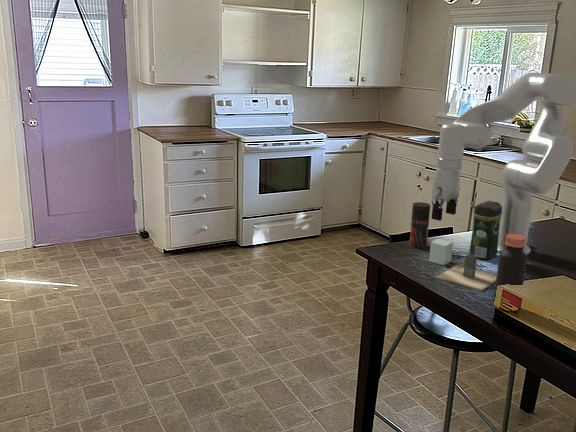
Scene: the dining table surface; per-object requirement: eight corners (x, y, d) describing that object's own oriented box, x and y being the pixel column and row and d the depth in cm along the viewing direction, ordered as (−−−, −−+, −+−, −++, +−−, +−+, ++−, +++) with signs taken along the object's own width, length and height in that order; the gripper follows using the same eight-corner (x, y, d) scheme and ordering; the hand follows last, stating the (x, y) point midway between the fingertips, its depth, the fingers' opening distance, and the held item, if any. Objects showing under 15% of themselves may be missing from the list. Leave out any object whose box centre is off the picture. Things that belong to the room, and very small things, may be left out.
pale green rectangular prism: (436, 257, 186) (438, 238, 184) (451, 261, 183) (453, 242, 181) (429, 261, 182) (430, 242, 181) (443, 265, 179) (445, 246, 177)
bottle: (490, 308, 150) (499, 237, 144) (495, 299, 155) (504, 231, 149) (517, 314, 146) (527, 242, 140) (521, 305, 152) (531, 235, 146)
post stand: (457, 265, 179) (459, 245, 177) (500, 277, 170) (503, 256, 168) (436, 278, 169) (438, 256, 167) (481, 291, 160) (484, 268, 158)
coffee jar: (477, 249, 194) (483, 197, 189) (499, 254, 189) (506, 202, 184) (465, 256, 188) (471, 203, 182) (487, 262, 182) (494, 207, 177)
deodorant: (426, 248, 194) (430, 207, 190) (409, 247, 195) (412, 206, 191) (426, 243, 200) (430, 202, 195) (409, 241, 201) (412, 201, 196)
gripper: (450, 158, 182) (445, 209, 187) (425, 165, 169) (419, 219, 174) (472, 162, 177) (466, 213, 182) (448, 169, 165) (441, 224, 170)
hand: (443, 216), depth 178 cm, fingers open, 9 cm apart
